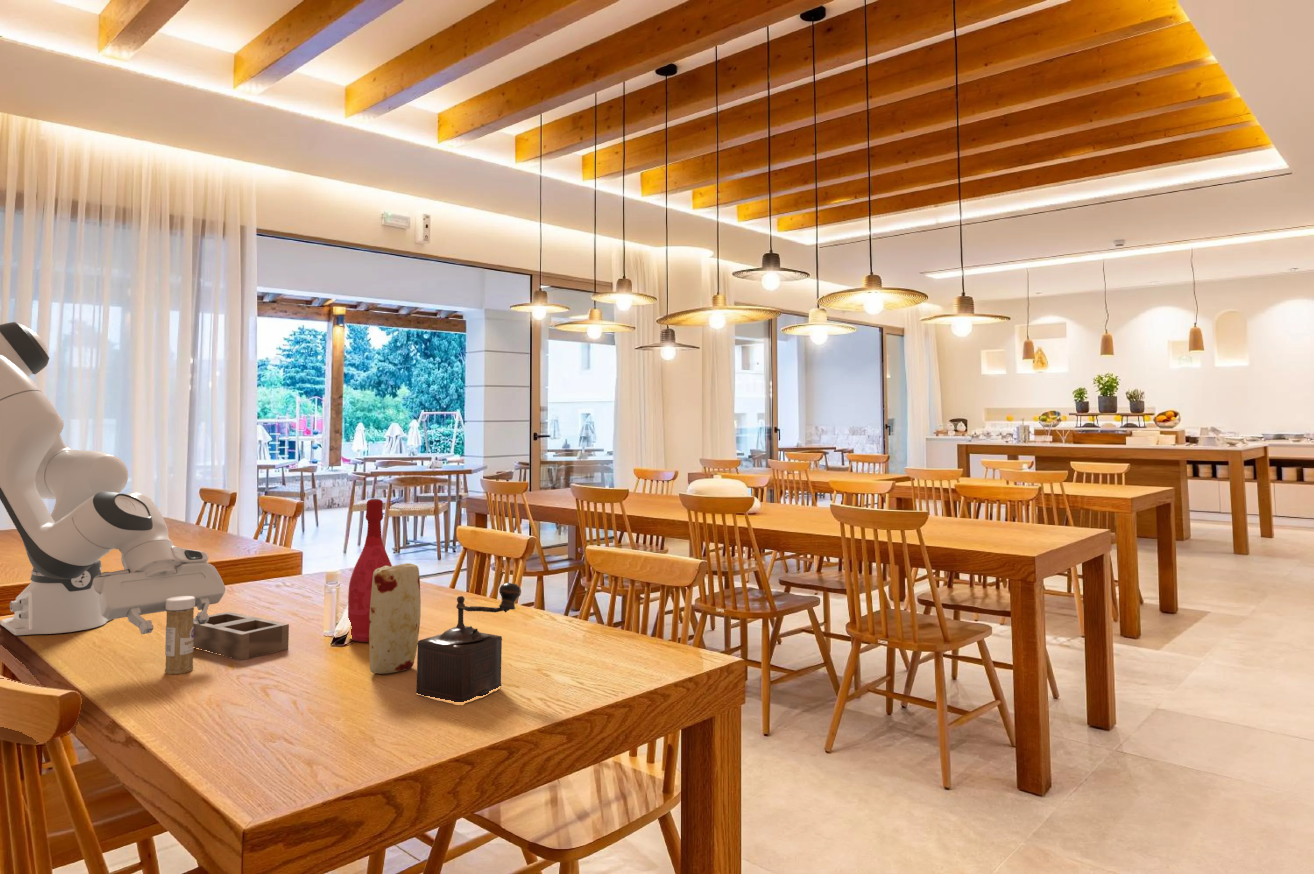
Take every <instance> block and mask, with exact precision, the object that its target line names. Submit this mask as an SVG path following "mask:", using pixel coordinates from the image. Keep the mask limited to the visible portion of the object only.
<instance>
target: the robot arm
mask: <svg viewBox="0 0 1314 874" xmlns="http://www.w3.org/2000/svg"><path fill="white" fill-rule="evenodd" d="M49 360H50V357H49V352H48V347H47V345H46V343H45V342H44V340H43V338H42V337H41V336H40V335H38V333H37V332H35V331H34V330H33V329H31V328H29V327H27V326H25V324H22V323H20V322H15V321H13V322H5V323H1V324H0V501H1V503H2V505H3V507H4V508H5V510H6V513H7V514H8V516H9V517H10V519H11V522H12V523H13V526H14V527H15V529H16V530H17V532H18V534H19V536H20V538H21V540H22V542H23V546H24V548H25V552H26V555H27V558H28V561H29V562H30V564H31V566H32V570H31V573H30V580H31V582H30V583H29V584H28V586H26V587H25V588H24V589H23V590H22V591H21V592H20V593H19V594H18V595H17V596H16V597H15V600H11V601H10V602H9V610H10V612H13V613H14V615H13V616H10V617H8V618H7V617H5V618H3V619H1V620H0V625H1V626H2V627H4V629H6V630H7V631H8V632H10V633H11V634H13V635H14V636H25V635H26V636H27V635H29V636H30V635H48V634H49V635H51V634H62V633H72V632H78V631H85V630H90V629H94V628H97V627H101V626H103V625H105V624H106V623H107V622H109V621H111V620H115V619H116V620H117V619H123V618H127V620H128V622H129V623H131V624H132V625H134V626H135V627H137V628H138V629H139V632H140V634H141V635H145V634H151V633H153V630H154V625H153V622H152V619H145V618H144V617H143V615H151V614H156V613H163V612H166V599H168V598H171V597H176V596H193V597H195V607H194V608H197V610H198V611H200V612H197V615H196V616H195V617H194V618H195V619H196V621H197V624H198V625H200V624H206V623H207V622H208V620H209V615H208V609H209V606H210V605H215V604H219V602H220V601H221V600H222V598H223V596H225V593H226V586H225V584H224V582H223V579H222V577H221V575H220V573H219V571H218V570H217V568H216V567H215V566H214V565H213V564H211V563H208V560H209V555H208V553H207V552H206V551H203V550H194V549H191V548H190V549H189V548H183V547H180V546H176V545H175V543H174V542H173V541H172V540H171V539H170V537H169V535H170V534H169V528H168V526H167V523H166V521H165V519H164V516H163V515H162V513H161V511H160V510H159V508H158V506H157V504H155V502H154V501H153V500H152V499H151V498H150V497H149V496H148V495H146V494H143V493H140V492H129V493H122V492H123V490H125V488H126V486H127V484H128V479H129V471H128V467H127V465H126V464H125V462H124V461H123V460H122V459H121V458H119V457H118V456H116V455H112V454H110V453H107V452H103V451H99V450H84V449H83V450H78V449H77V450H76V449H72V448H70V447H69V446H67V444H65V442H64V440H63V439H62V436H61V433H62V431H63V429H64V420H63V418H62V416H61V415H60V414H59V413H58V411H57V409H56V407H55V406H54V404H52V402H51V401H50V400H49V398H48V397H47V396H46V395H45V394H44V392H43V391H42V389H40V387H39V386H38V384H36V383H35V381H33V379H32V378H31V375H37V374H38V373H40V371H42V370H43V369H44V368H45V367H47V366H48V363H49ZM43 499H47V500H50V499H51V500H55V503H54V506H53V509H52V511H51V513H50V511H49V509H48V507H47V506H46V504H45V502H44V500H43ZM113 550H118V551H119V552H120V553H121V557H120V558H121V564H122V567H123V569H120V570H115V571H104V572H102V568H103V567H102V561H101V560H100V559H101V558H103V557H105V556H106V555H107V554H108V553H110V552H111V551H113Z"/></svg>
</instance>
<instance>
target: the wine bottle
mask: <svg viewBox="0 0 1314 874" xmlns="http://www.w3.org/2000/svg"><path fill="white" fill-rule="evenodd" d="M383 505H384V502H383V500H382V499H380V498H371V499H368V500H367V501H366V509H365V510H366V511H365V513H366V514H365V520H366V521H367V532H366V537H365V541H364V546H363V547H362V548H363V549H362V550H361V553H360V554H359V557H358V559H357V561H356V563H355V565H354V567H353V570H352V573H351V576H350V580H349V583H348V595H347V596H348V598H347V617H348V618H349V620H350V622H351V626H352V629H351V635H352V639H353V640H352V639H351V640H352V641H354V642H358V643H369V628H370V625H369V618H370V603H371V591H372V580H373V573H374V571H375V570H376V569H378V568H381V567H383V566H389V567H391V566H393V564H392V562H391V559H390V558H389V555H388V553H387V551H386V549H385V546H384V542H383V537H382V536H383V535H382V520H383V519H384V513H383V510H384V509H383ZM348 618H347V619H348Z"/></svg>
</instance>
